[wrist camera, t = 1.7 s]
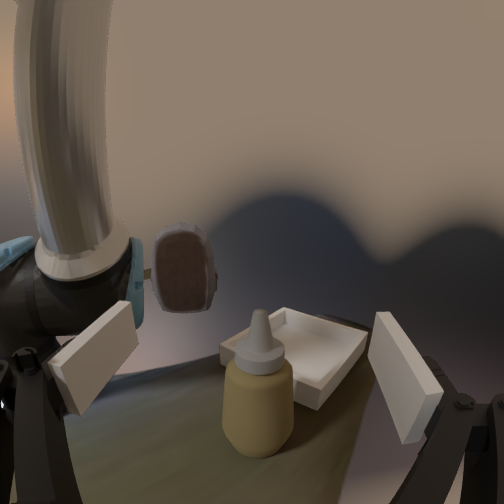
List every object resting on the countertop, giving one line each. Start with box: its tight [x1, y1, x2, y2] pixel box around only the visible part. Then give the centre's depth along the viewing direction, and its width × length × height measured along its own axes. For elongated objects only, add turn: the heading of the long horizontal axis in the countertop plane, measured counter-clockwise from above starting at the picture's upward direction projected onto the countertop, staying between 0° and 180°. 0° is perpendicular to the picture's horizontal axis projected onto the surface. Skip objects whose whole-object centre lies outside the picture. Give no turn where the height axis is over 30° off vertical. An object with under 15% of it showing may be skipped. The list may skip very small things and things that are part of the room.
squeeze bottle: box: [222, 309, 294, 458], centre depth 27 cm, size 8×8×18 cm
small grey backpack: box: [151, 223, 218, 313], centre depth 63 cm, size 15×8×20 cm, turn 96°
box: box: [219, 307, 368, 411], centre depth 46 cm, size 18×18×4 cm
